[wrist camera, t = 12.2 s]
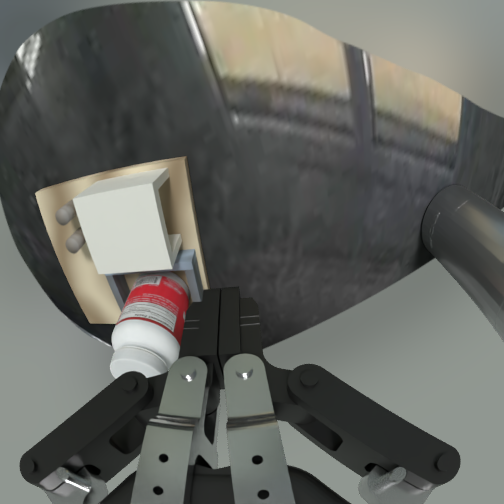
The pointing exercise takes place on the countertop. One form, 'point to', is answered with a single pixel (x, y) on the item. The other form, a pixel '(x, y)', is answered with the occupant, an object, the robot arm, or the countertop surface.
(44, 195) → the base board
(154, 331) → the pill bottle
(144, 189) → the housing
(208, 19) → the countertop surface
